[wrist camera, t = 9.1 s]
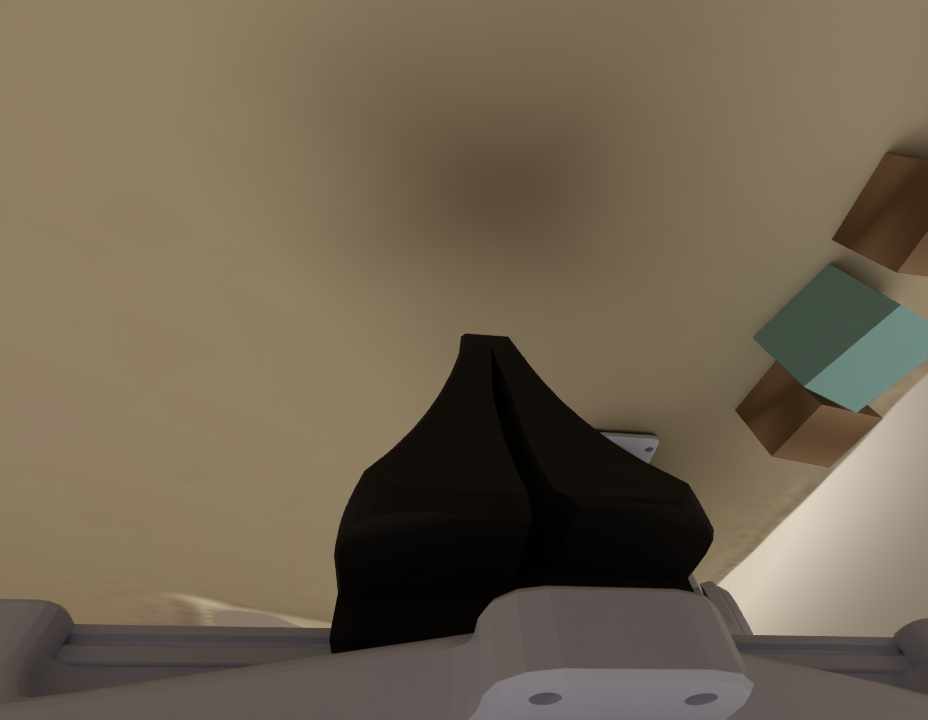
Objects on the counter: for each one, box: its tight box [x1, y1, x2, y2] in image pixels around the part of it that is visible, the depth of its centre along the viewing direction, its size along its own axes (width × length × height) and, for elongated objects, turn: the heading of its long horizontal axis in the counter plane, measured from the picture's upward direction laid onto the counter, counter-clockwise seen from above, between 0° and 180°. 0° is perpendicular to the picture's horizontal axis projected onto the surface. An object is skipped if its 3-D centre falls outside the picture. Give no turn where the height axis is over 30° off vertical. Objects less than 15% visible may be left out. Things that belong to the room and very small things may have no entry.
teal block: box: [753, 264, 928, 413], centre depth 23 cm, size 5×4×4 cm
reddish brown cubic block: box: [736, 361, 883, 467], centre depth 26 cm, size 4×4×4 cm
